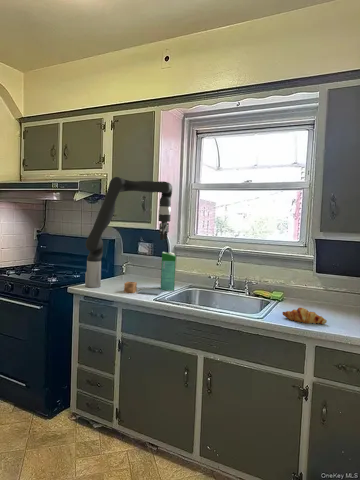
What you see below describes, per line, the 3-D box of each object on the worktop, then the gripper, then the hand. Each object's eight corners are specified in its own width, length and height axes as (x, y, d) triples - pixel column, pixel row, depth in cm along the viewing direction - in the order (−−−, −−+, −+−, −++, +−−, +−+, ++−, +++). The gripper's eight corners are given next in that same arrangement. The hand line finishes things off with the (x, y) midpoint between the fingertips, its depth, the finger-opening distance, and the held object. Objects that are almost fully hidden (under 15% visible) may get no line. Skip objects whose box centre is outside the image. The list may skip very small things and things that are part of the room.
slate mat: (138, 293, 222) (138, 291, 222) (144, 289, 235) (144, 287, 235) (158, 295, 220) (158, 293, 220) (163, 291, 233) (163, 289, 233)
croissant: (326, 330, 176) (327, 314, 179) (326, 325, 168) (327, 309, 171) (282, 322, 185) (284, 307, 188) (280, 317, 177) (282, 302, 180)
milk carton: (174, 290, 235) (175, 253, 233) (160, 290, 235) (162, 252, 233) (174, 287, 244) (175, 251, 242) (161, 287, 244) (162, 251, 242)
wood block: (124, 292, 224) (124, 283, 223) (127, 290, 230) (127, 281, 229) (133, 293, 223) (133, 284, 222) (136, 291, 228) (136, 282, 228)
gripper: (161, 213, 232) (160, 238, 233) (155, 213, 218) (154, 239, 219) (173, 214, 230) (172, 239, 231) (167, 214, 216) (166, 240, 218)
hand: (163, 239), depth 225 cm, fingers open, 8 cm apart
